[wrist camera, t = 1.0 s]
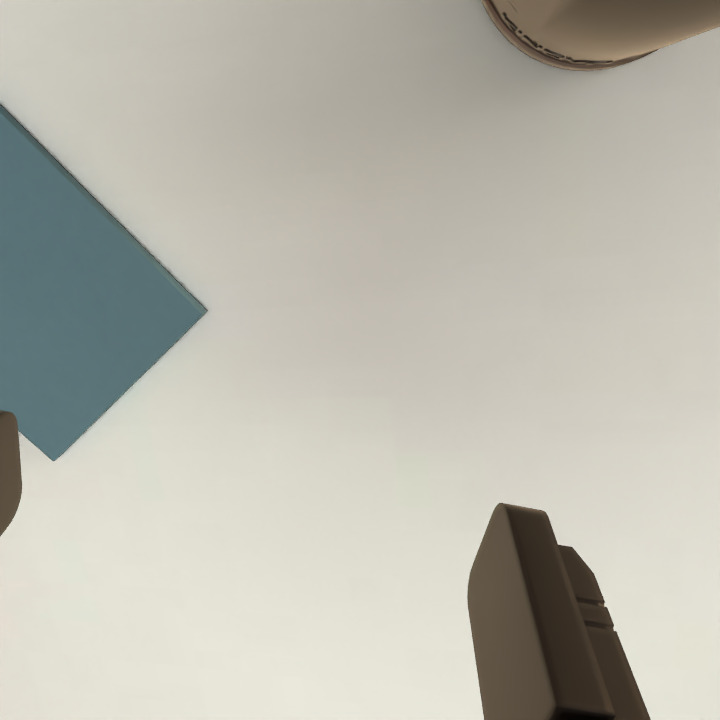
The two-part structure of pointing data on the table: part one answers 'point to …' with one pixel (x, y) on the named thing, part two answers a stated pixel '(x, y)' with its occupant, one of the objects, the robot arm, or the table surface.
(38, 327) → the drying mat
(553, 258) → the table surface
